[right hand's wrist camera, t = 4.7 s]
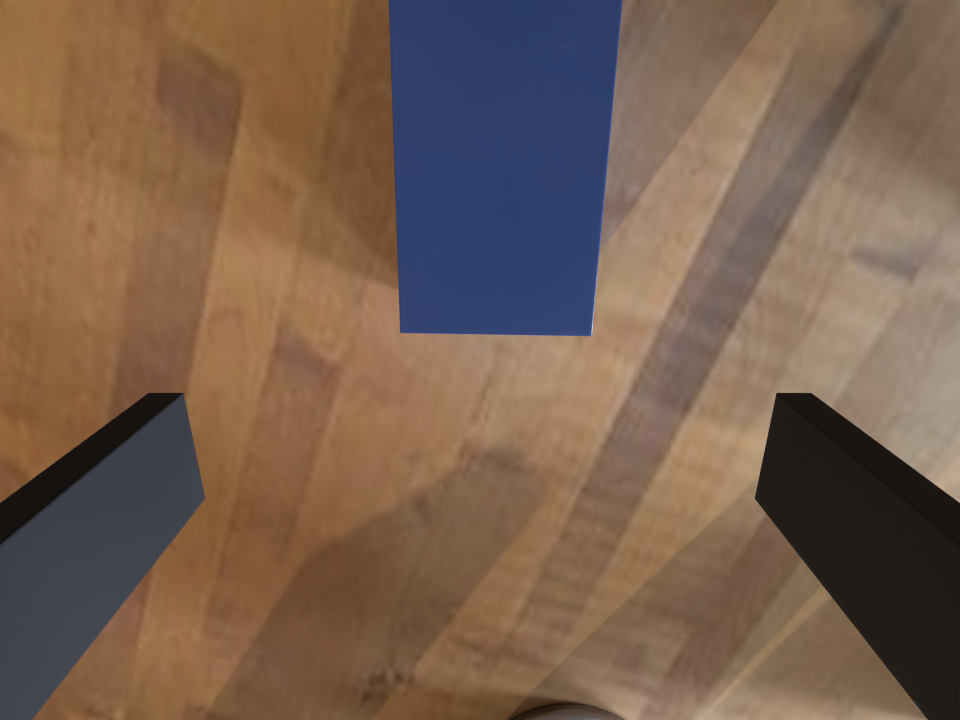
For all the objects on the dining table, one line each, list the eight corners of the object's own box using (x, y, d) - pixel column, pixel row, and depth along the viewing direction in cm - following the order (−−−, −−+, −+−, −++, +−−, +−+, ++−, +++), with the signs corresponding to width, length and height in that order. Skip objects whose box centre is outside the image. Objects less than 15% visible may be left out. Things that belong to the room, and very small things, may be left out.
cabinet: (409, 3, 32) (386, -44, 24) (591, 6, 32) (626, -39, 24) (416, 296, 38) (400, 333, 30) (569, 298, 38) (592, 336, 30)
